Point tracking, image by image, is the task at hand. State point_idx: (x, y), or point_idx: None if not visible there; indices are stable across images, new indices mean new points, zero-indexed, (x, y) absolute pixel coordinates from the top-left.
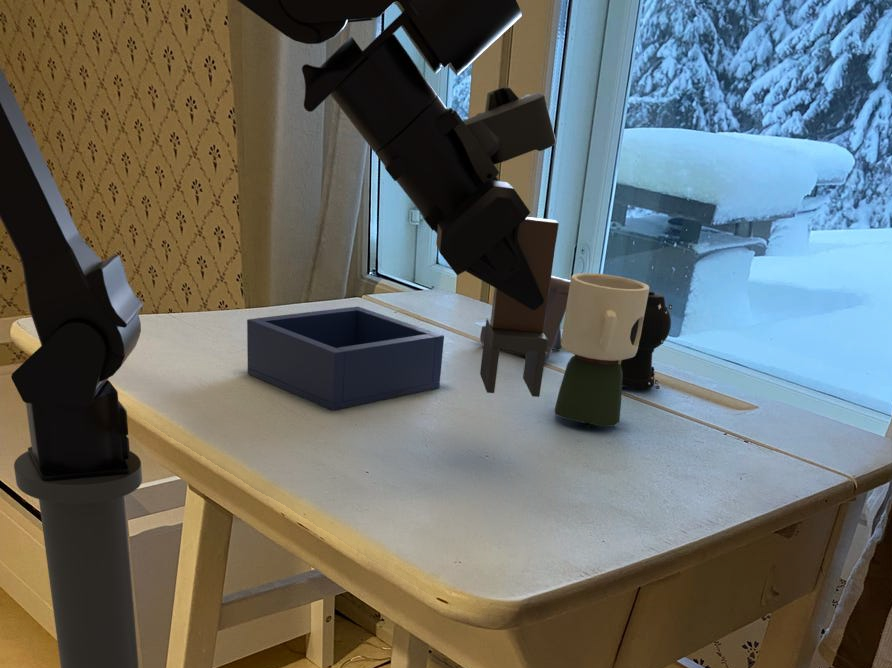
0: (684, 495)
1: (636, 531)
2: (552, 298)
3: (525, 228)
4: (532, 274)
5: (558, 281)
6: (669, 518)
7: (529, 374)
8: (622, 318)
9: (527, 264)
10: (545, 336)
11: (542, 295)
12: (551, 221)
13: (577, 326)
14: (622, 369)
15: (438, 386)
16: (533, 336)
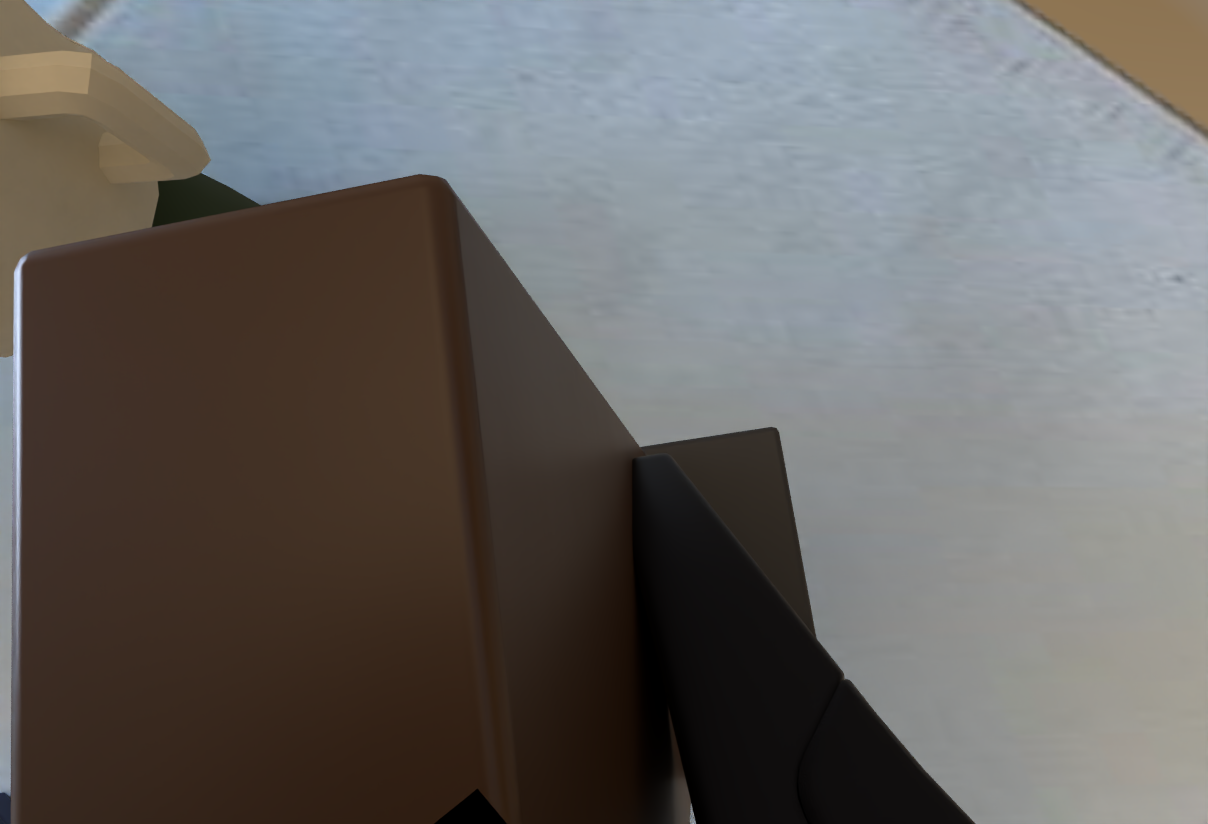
0: (745, 48)
1: (1067, 188)
2: None
3: None
4: (772, 590)
5: None
6: (934, 97)
7: None
8: (17, 32)
9: (848, 681)
10: (706, 439)
11: (680, 470)
12: (343, 343)
13: (13, 269)
14: None
15: (3, 797)
16: (757, 511)
